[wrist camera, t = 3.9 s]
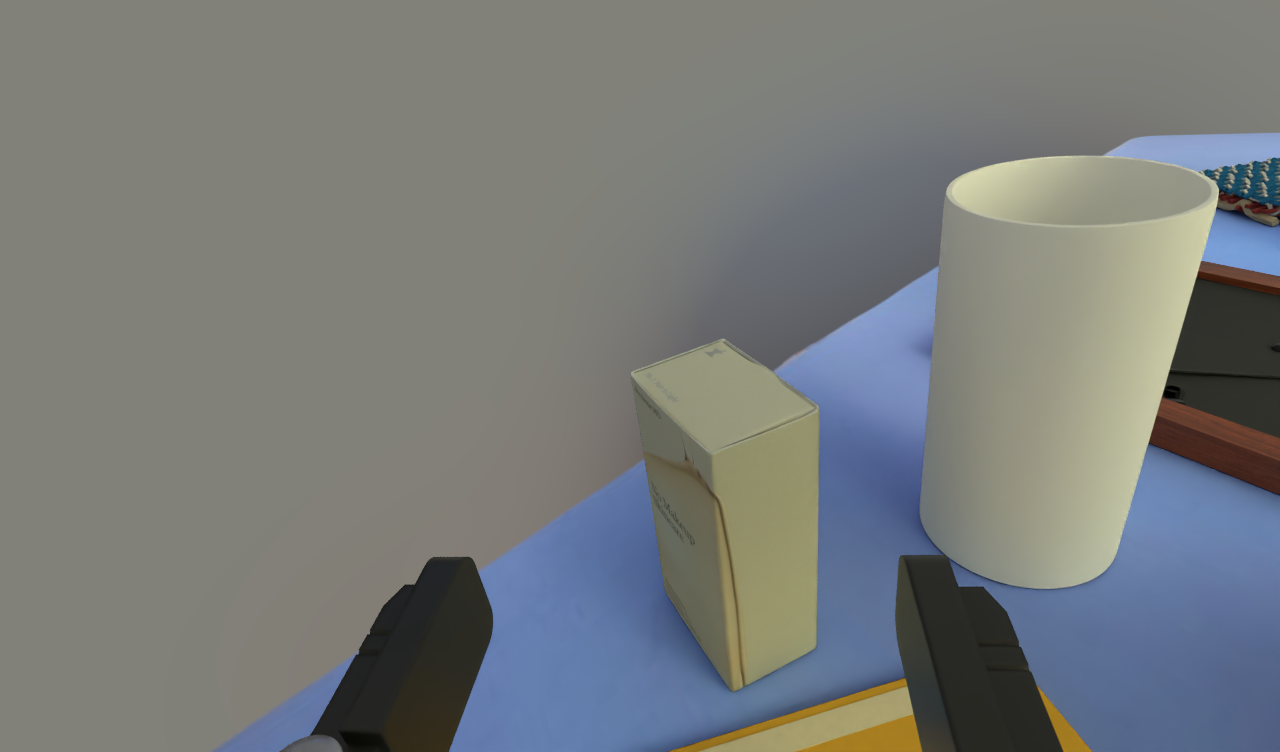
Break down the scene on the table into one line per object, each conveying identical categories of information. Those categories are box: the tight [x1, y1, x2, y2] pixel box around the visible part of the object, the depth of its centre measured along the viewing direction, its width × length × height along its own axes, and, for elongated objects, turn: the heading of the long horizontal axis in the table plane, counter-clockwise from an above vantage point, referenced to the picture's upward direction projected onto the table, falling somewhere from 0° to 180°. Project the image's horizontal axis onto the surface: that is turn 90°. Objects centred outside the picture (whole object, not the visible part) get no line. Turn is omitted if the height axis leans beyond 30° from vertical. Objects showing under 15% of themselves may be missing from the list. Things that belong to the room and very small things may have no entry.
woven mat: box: [1199, 158, 1280, 227], centre depth 58 cm, size 10×11×2 cm
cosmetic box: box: [631, 339, 820, 692], centre depth 26 cm, size 6×4×12 cm
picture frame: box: [1149, 261, 1280, 495], centre depth 39 cm, size 20×2×25 cm
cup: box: [920, 156, 1219, 589], centre depth 28 cm, size 8×8×16 cm
